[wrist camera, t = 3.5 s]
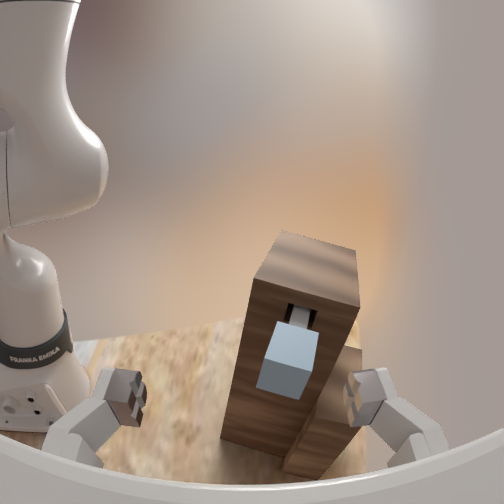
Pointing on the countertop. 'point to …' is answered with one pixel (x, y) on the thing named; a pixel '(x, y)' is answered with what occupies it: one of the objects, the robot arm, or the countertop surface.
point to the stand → (325, 362)
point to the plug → (289, 356)
